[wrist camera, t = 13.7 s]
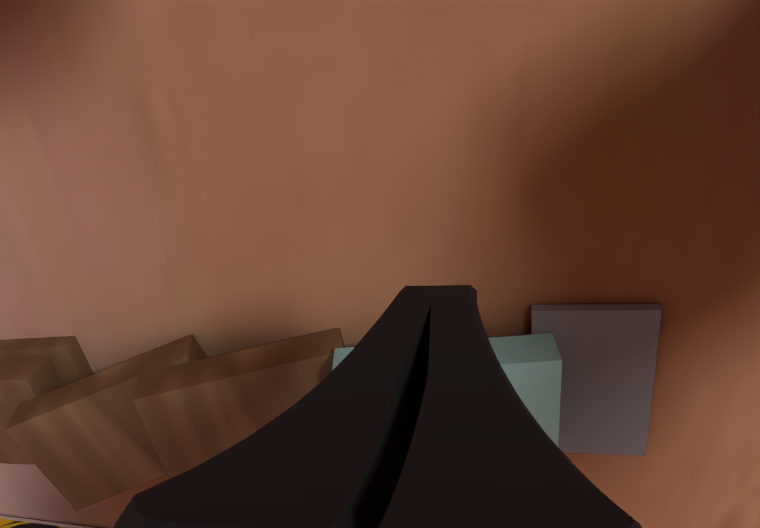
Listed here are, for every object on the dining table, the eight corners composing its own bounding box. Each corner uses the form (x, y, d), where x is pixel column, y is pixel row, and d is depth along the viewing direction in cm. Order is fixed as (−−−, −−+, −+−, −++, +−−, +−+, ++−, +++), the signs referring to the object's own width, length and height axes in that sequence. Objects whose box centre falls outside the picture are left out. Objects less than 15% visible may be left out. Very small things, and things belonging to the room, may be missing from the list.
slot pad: (659, 303, 23) (661, 310, 23) (643, 448, 27) (645, 455, 26) (531, 304, 24) (531, 310, 24) (532, 444, 28) (532, 451, 27)
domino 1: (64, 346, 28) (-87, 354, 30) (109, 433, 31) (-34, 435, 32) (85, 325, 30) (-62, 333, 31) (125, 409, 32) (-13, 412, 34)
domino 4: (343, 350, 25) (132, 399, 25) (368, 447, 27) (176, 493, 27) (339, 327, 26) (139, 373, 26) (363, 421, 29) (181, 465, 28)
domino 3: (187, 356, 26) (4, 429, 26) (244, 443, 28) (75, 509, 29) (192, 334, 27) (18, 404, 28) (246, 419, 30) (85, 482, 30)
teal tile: (561, 360, 23) (331, 376, 23) (557, 465, 25) (348, 477, 26) (552, 333, 24) (334, 348, 25) (548, 435, 27) (350, 447, 27)
